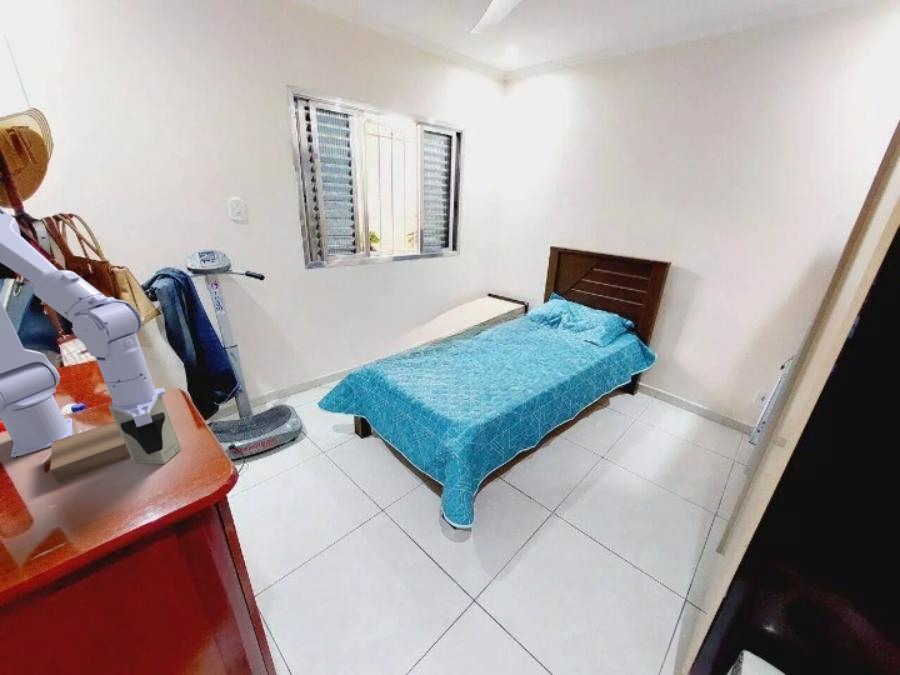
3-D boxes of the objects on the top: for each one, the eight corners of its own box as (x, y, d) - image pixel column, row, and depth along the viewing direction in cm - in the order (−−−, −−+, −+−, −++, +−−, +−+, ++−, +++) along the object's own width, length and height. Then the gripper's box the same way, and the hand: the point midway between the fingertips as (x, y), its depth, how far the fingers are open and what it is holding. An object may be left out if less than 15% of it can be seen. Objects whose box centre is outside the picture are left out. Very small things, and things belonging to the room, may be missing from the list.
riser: (58, 454, 67) (51, 441, 66) (128, 431, 73) (123, 419, 72) (57, 484, 60) (50, 469, 59) (134, 455, 67) (129, 442, 66)
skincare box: (182, 449, 69) (163, 393, 64) (164, 465, 64) (142, 407, 60) (150, 447, 69) (129, 392, 64) (130, 463, 65) (106, 406, 60)
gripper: (164, 381, 58) (186, 449, 63) (150, 354, 68) (170, 415, 73) (105, 397, 54) (135, 469, 59) (99, 366, 63) (125, 430, 68)
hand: (151, 441), depth 65 cm, fingers closed on skincare box, 7 cm apart
